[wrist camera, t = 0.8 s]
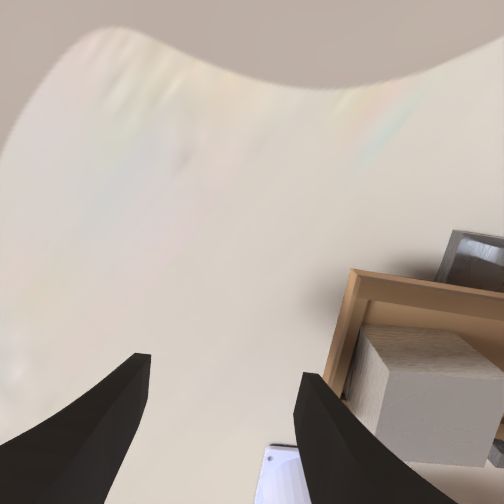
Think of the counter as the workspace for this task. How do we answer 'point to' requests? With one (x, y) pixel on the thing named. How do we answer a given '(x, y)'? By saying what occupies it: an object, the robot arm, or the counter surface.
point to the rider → (425, 394)
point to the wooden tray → (415, 318)
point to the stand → (476, 281)
